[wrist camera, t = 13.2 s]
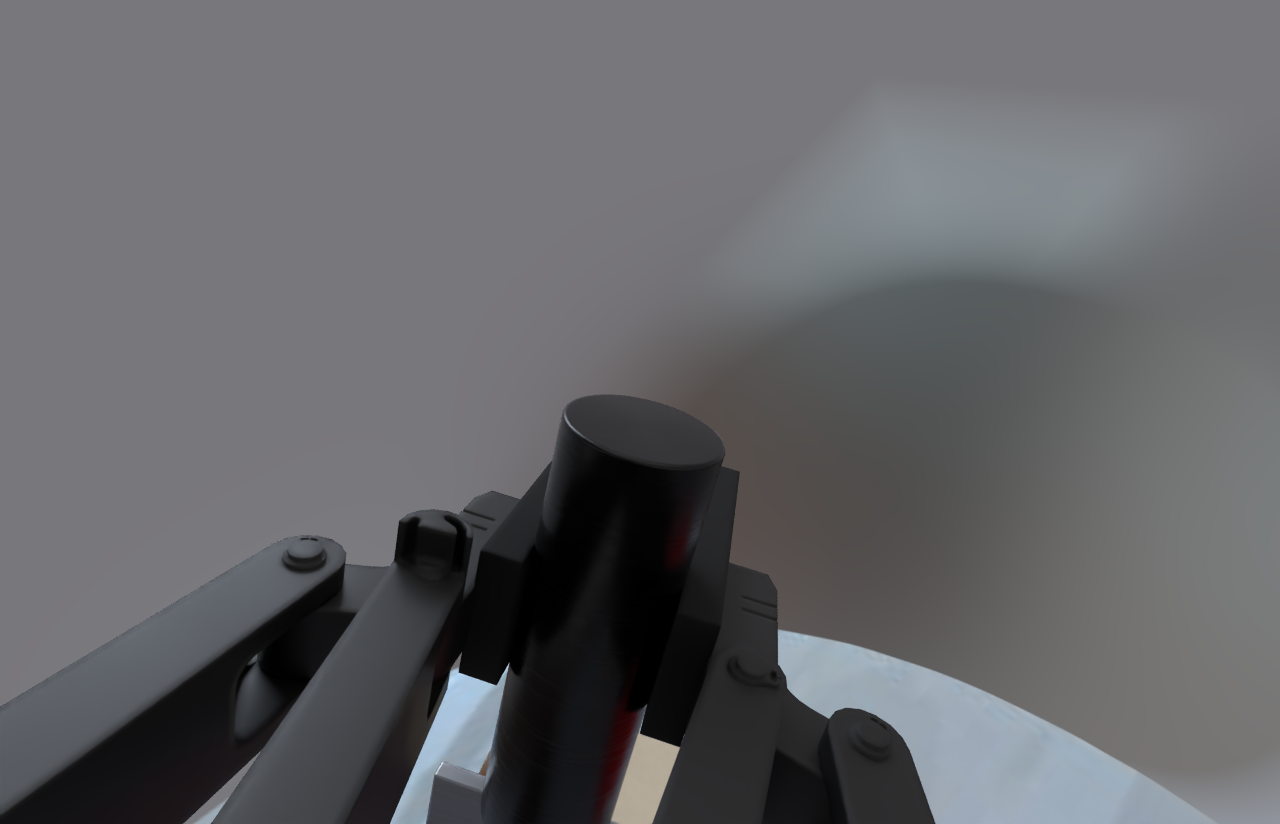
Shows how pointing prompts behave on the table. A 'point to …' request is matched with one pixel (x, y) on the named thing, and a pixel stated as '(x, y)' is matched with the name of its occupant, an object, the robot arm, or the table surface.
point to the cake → (644, 781)
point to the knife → (591, 614)
